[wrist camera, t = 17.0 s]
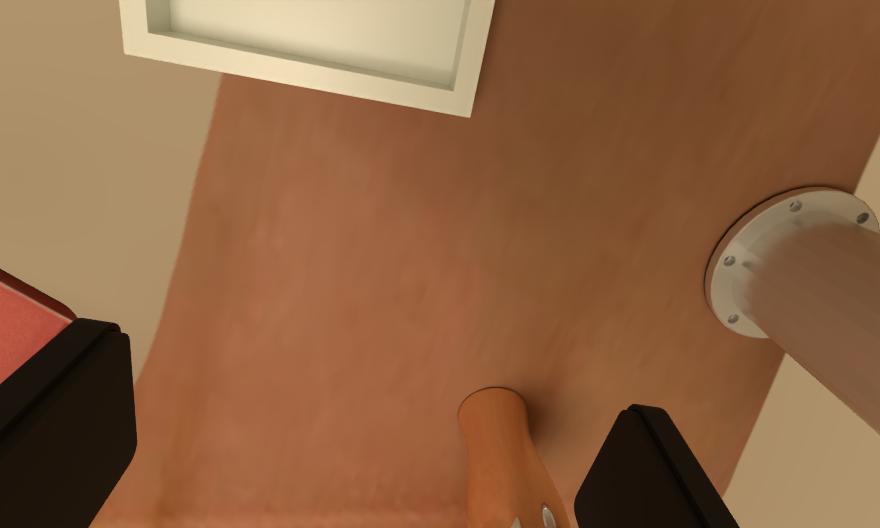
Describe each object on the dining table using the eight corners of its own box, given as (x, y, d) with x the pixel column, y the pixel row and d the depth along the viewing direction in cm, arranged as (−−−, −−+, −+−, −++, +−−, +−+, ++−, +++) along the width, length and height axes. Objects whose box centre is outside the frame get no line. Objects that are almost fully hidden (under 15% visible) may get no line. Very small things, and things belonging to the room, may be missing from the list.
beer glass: (436, 421, 42) (452, 607, 29) (487, 370, 40) (530, 547, 27) (495, 451, 44) (535, 637, 31) (547, 405, 42) (613, 584, 29)
